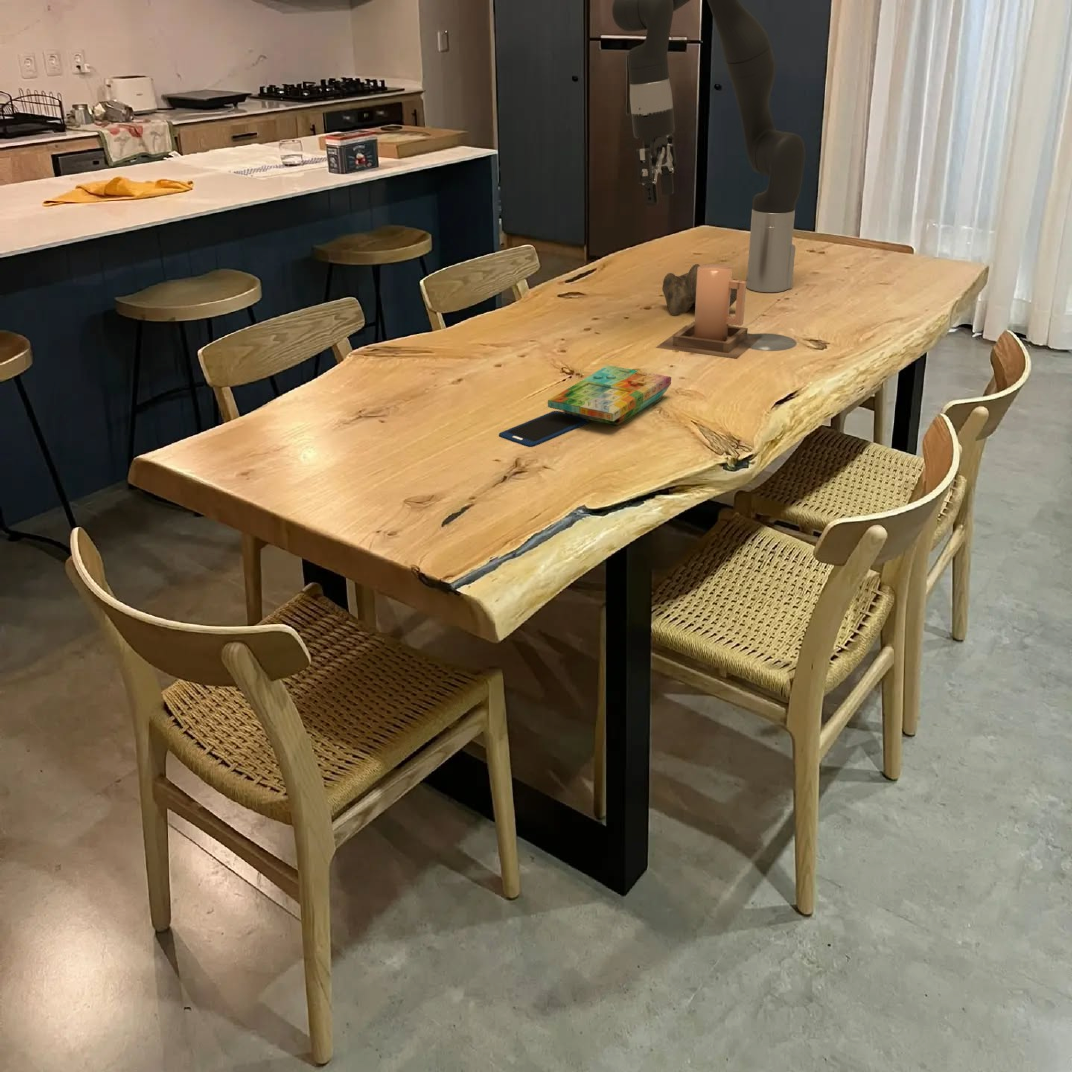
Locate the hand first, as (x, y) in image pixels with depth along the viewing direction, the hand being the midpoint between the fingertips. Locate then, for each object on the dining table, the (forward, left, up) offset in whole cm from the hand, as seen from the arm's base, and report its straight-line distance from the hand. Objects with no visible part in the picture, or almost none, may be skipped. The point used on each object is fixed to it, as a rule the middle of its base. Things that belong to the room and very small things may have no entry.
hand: (660, 199), depth 201 cm
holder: (-7, +10, -26) cm, 29 cm away
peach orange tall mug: (-8, +11, -25) cm, 29 cm away
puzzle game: (+23, +36, -26) cm, 50 cm away
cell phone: (+36, +41, -26) cm, 61 cm away
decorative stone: (-15, -11, -26) cm, 32 cm away
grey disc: (-17, +14, -26) cm, 34 cm away
